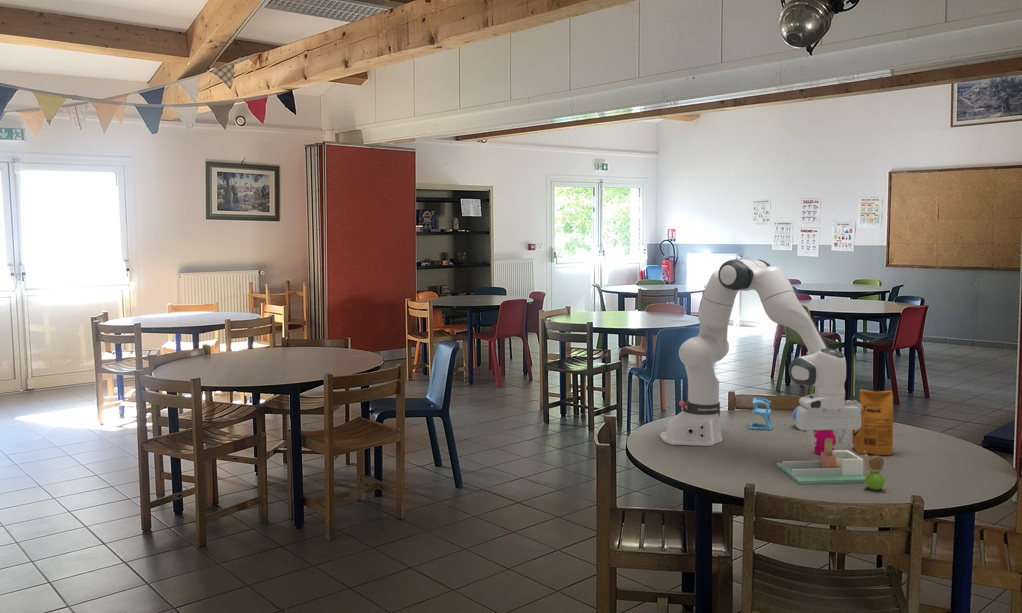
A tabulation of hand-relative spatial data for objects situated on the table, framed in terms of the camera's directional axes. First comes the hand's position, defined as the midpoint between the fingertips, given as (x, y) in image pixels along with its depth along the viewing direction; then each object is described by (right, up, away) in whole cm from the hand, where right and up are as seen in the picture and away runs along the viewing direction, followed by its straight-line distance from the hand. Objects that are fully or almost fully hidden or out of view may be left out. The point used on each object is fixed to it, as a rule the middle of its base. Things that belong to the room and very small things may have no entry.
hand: (827, 442), depth 249 cm
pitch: (-2, -10, +1) cm, 10 cm away
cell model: (+15, -4, +54) cm, 56 cm away
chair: (-3, -4, +55) cm, 56 cm away
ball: (+4, -7, +1) cm, 8 cm away
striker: (0, -9, +1) cm, 9 cm away
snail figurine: (+8, -12, -14) cm, 20 cm away
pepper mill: (+8, -8, +23) cm, 26 cm away
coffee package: (+25, -7, +24) cm, 36 cm away
